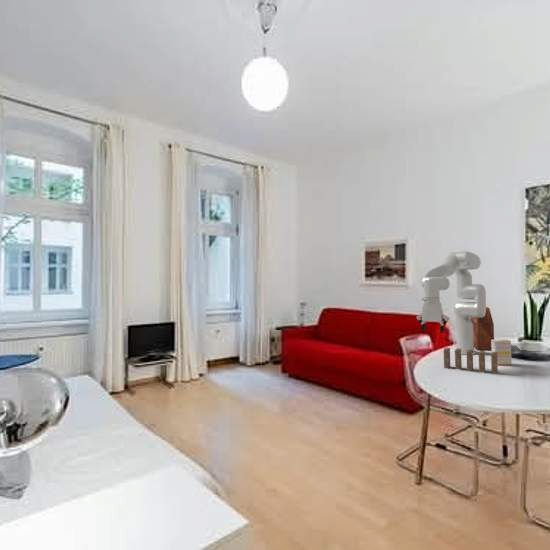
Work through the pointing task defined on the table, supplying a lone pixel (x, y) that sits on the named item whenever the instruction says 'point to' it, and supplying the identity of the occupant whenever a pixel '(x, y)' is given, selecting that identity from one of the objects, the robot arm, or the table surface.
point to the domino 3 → (469, 360)
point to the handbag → (483, 331)
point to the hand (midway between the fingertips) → (432, 332)
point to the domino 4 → (481, 361)
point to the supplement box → (502, 351)
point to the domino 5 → (494, 362)
